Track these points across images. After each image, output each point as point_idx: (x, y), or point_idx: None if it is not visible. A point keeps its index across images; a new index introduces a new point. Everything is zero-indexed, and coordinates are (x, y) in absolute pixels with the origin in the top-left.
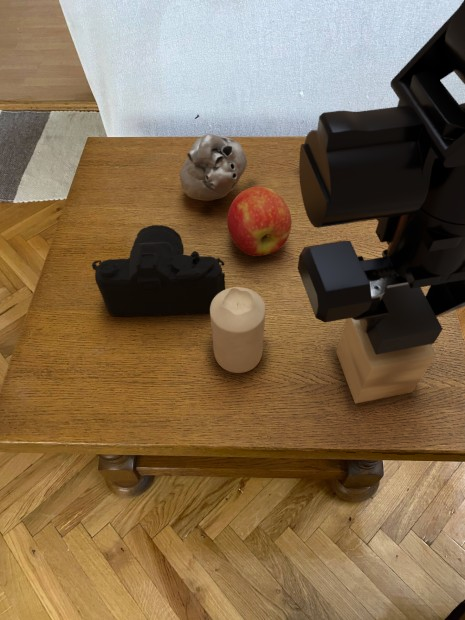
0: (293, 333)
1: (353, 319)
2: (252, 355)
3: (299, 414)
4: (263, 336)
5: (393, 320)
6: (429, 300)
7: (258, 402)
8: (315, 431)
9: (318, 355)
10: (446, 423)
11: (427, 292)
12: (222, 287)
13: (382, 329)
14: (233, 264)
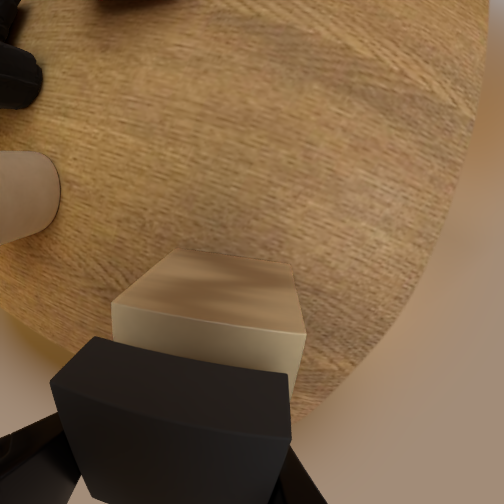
0: (116, 179)
1: (115, 329)
2: (10, 241)
3: (88, 325)
4: (16, 220)
5: (131, 491)
6: (273, 501)
7: (43, 285)
8: None
9: (142, 241)
10: (292, 410)
11: (280, 496)
12: (4, 86)
13: (96, 488)
14: (88, 9)
